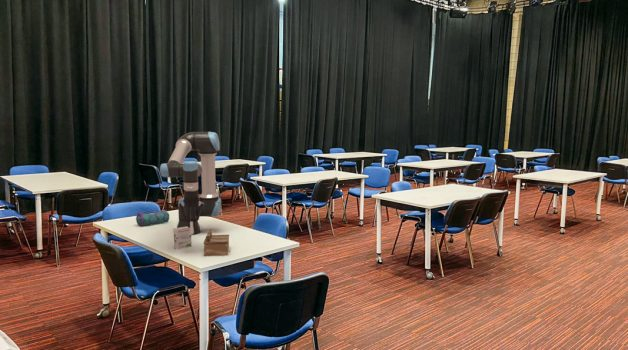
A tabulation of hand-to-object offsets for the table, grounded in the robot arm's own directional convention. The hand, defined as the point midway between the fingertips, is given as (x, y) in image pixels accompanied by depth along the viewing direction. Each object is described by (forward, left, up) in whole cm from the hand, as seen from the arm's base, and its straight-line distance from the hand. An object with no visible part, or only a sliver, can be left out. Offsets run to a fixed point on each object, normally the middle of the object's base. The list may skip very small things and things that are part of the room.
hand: (192, 233), depth 257 cm
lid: (0, +13, -4) cm, 14 cm away
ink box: (-12, -7, -11) cm, 18 cm away
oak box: (0, +13, -11) cm, 17 cm away
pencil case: (-78, -37, -12) cm, 87 cm away
